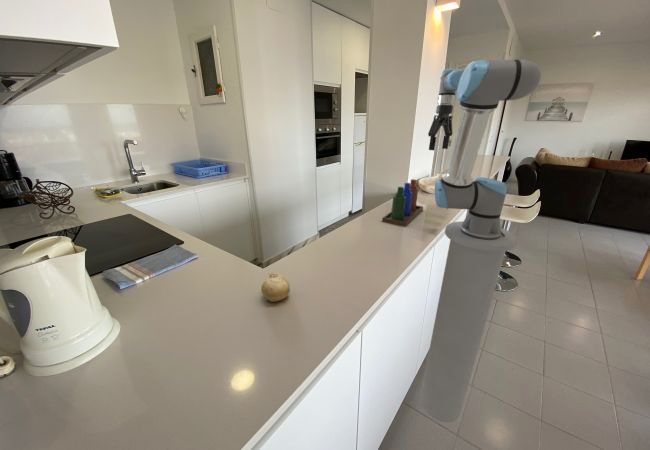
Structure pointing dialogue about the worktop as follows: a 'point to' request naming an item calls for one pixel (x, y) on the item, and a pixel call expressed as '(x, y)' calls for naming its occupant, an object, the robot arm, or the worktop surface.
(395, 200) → the green bottle
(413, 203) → the amber bottle
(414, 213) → the tray
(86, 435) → the worktop surface
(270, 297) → the onion
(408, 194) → the blue bottle
